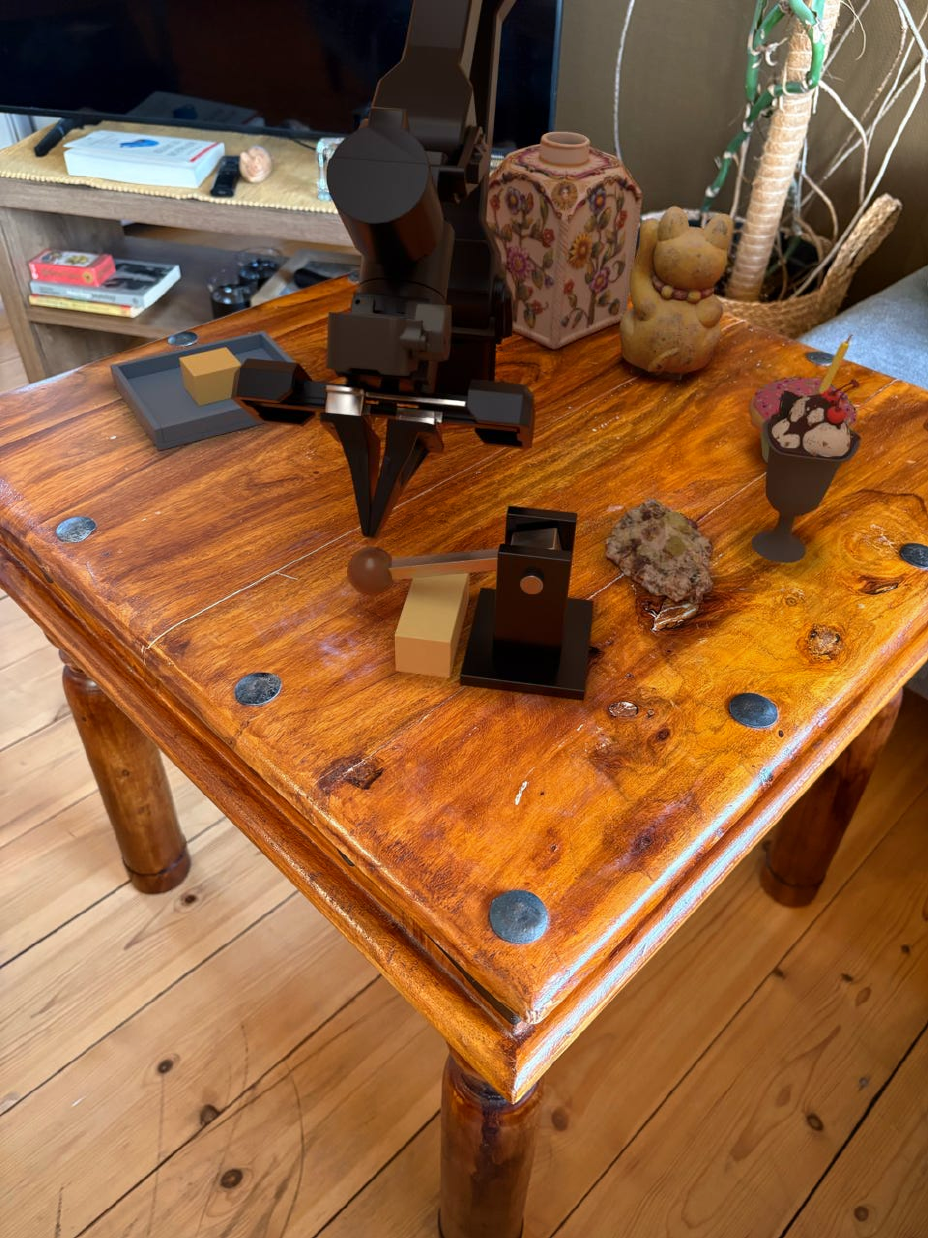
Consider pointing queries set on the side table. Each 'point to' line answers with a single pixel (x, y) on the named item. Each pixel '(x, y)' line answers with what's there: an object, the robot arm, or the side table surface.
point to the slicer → (531, 616)
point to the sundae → (802, 464)
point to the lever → (433, 562)
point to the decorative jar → (564, 236)
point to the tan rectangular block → (432, 624)
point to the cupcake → (770, 394)
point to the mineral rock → (662, 552)
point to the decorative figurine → (675, 295)
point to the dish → (186, 392)
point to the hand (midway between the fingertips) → (369, 537)
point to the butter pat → (209, 375)
